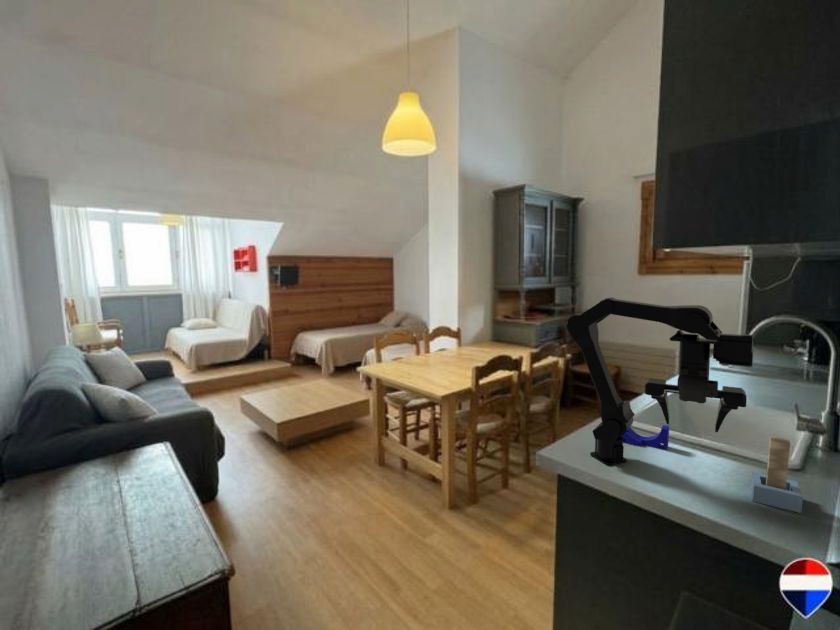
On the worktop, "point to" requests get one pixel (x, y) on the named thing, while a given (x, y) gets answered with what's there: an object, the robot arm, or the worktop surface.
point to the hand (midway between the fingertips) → (691, 427)
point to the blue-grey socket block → (776, 493)
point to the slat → (778, 462)
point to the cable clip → (648, 438)
